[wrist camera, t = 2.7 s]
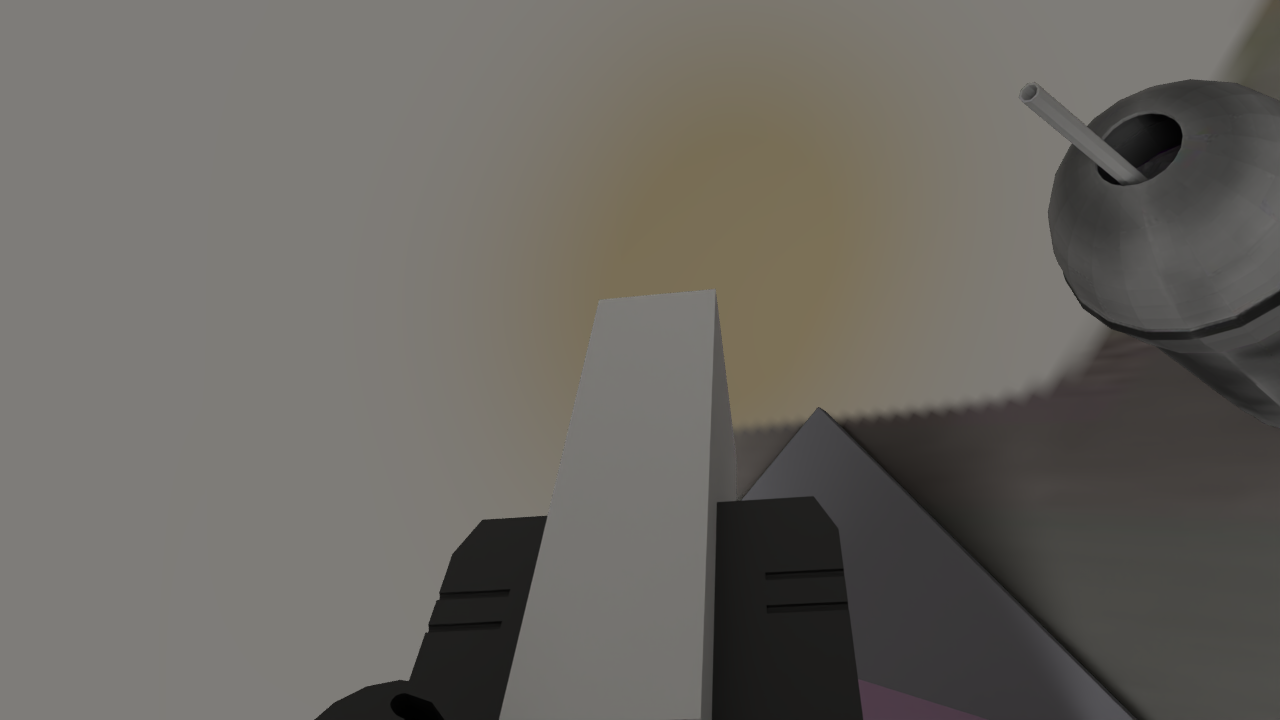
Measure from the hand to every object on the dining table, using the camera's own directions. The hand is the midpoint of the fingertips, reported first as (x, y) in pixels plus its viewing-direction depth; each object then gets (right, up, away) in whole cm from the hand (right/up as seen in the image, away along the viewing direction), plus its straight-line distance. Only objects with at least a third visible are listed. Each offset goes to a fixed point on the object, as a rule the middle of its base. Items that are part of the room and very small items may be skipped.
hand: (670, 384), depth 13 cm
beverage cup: (+23, 0, +22) cm, 32 cm away
